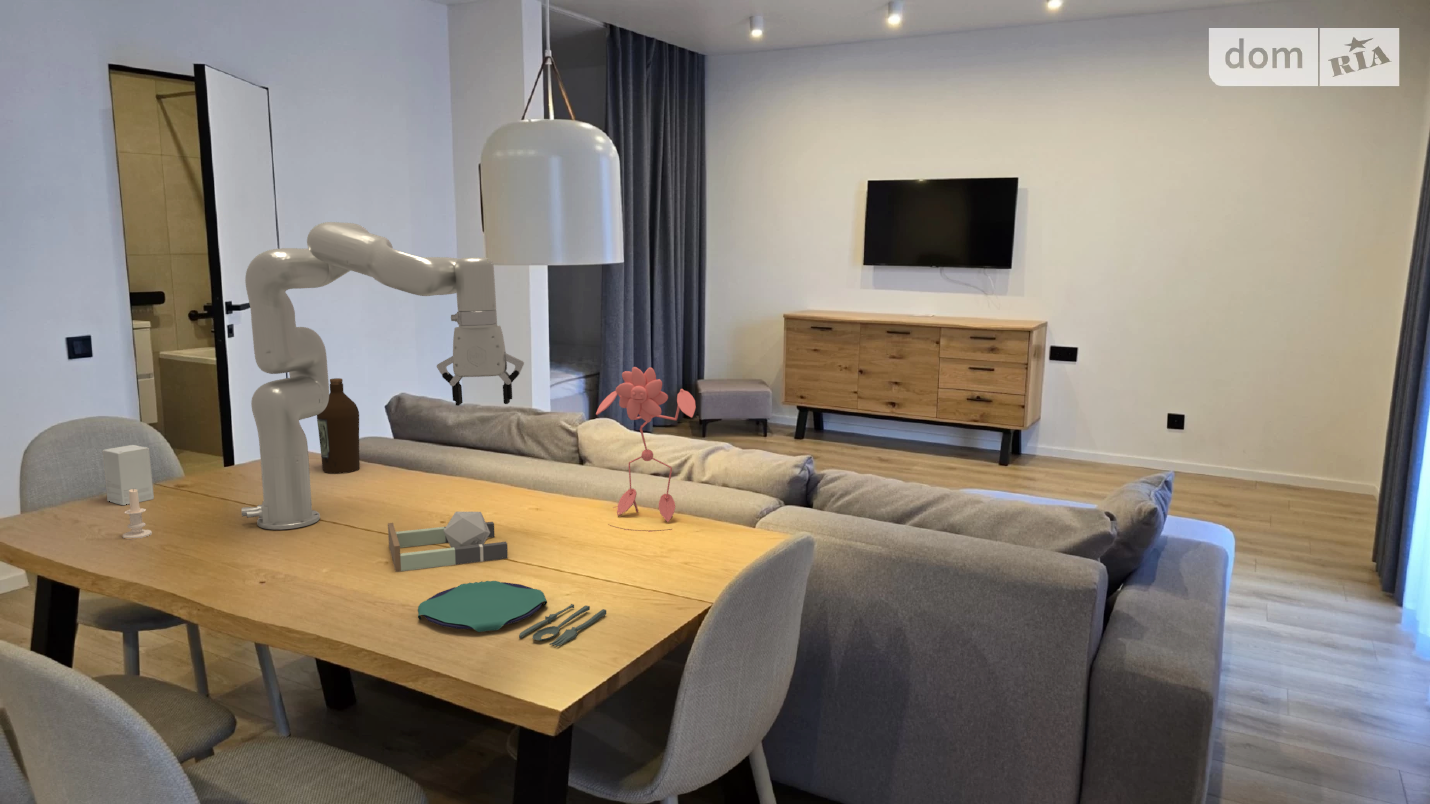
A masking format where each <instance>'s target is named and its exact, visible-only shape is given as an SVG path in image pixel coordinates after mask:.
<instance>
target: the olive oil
mask: <svg viewBox="0 0 1430 804" xmlns="http://www.w3.org/2000/svg"><path fill="white" fill-rule="evenodd" d="M316 421H317V428H318V430H317V431H318V437H319V438H318V439H319V445H320V447H319V448H320V455H321V467H322V468H321V469H322V472H324V473H326V474H347V473H352V472H355V471H356V472H357V471H358V470H359V469H360V467H361V466H360V465H361V464H360V462H361V460H360V412H359V408H358V406H357V404H356V403H355V402H354V401H353V400H352V399H351V398H350V397H349V396H348V395H347V394H346V393H345V392H344V383H343V378H340V377H339V378H337V377H335V378H330V379H329V401H328V404H327V407H326V408H325V410H324V411H323V412H321V413H320V414H318V415H316Z"/></svg>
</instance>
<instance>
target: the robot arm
mask: <svg viewBox="0 0 1430 804" xmlns="http://www.w3.org/2000/svg"><path fill="white" fill-rule="evenodd" d="M306 245H307V248H297V247H296V248H295V247H287V248H286V247H285V248H284V247H282V248H273V249H269V250H265V251H263V252H261V253H259V254H258V255H256V256H255V257H253V259H252V260H251V261H250V263H249V264H248V266H247V269H246V270H245V278H244V279H245V280H244V281H245V282H244V283H245V289H246V295H247V298H248V302H249V306H250V308H249V309H250V316H251V317H250V318H251V319H250V320H251V321H250V322H251V329H252V330H251V331H252V341H253V343H252V344H253V351H254V358H255V359H254V360H255V363H256V365H257V367H258V368H259V369H260V371H262V372H264V373H266V374H270V375H279V374H287V373H289V377H287V378H282V379H276V380H272V381H271V380H270V381H268V382H266V383H263V384H262V385H260V386H259V387H258V388H257V389H256V390H255V391H254V393H253V394H252V397H251V401H250V403H251V405H250V406H251V412H252V415H253V419H254V422H255V426H256V430H257V435H258V442H259V454H260V467H261V469H260V470H261V482H262V496H263V497H262V498H263V501H262V503H261V504H258V505H257V506H253V507H251V506H247V507H246V506H245V507H241V511H240V512H241V517H246V518H249V519H251V518H256V517H258V518H257V520H256V522H257V523H256V524H257V526H258V527H259V528H261V529H265V530H275V531H276V530H279V531H280V530H290V529H293V530H294V529H298V528H303V527H307V526H310V525H313V524H315V523H317V522H319V520H320V519H321V515H320V512H319V511H317V510H313V507H312V491H311V488H312V487H311V476H310V475H311V474H310V473H311V472H310V459H309V457H310V456H309V446H308V440H307V436H306V433H305V431H304V429H303V427H302V425H301V423H300V421H302V420H305V419H309V418H312V417H314V416H316V417H317V415H318V414H320V413H321V412H323V411H324V410H325V408H326V407H327V404H328V401H329V394H330V380H329V373H328V371H329V370H328V360H327V358H328V357H327V350H326V346H325V343H324V342H323V339H322V338H321V336H320V335H319V334H318V333H317V331H315V330H314V329H312V328H309V327H305V326H297V324H296V323H297V322H296V311H295V308H294V305H293V302H292V300H291V298H290V296H289V295H288V294H287V291H288V290H292V289H293V290H294V289H295V290H296V289H315V288H316V289H317V288H321V287H325V286H327V285H329V284H332V283H334V281H336V280H338V279H339V278H341V277H342V276H344V275H346V274H347V273H349V272H350V271H351V272H353V273H354V272H355V273H358V274H361V275H365V276H367V277H370V278H373V279H374V280H375V281H377V282H378V283H380V284H381V285H384V286H387V287H389V288H392V289H395V290H398V291H402V292H404V293H408V294H411V295H416V296H420V297H430V296H444V295H445V296H447V295H453V294H456V304H457V311H456V313H454V314H450V321H451V322H455V323H457V325H458V327H457V326H456V327H454V329H453V339H452V340H453V341H452V356H450V357H448V358H446V359H444V360H443V361H441V362H439V363H437V364H436V368H437V370H438V371H439V373H440V375H441V377H442V379H443V380H445V381H446V382H447V383H448V384H449V385H450V386H451V391H452V393H451V394H452V401H453V402H455V407H456V406H457V407H458V406H460V405H462V404H463V389H462V385H461V383H460V381H461V380H462V379H463V378H476V377H477V378H479V377H480V378H481V377H482V378H483V377H499V378H500V379H501V380H502V381H503V385H502V396H503V404H505V405H508V404H509V403H510V401H511V400H513V385H512V384H513V382H514V381H515V380H516V379H517V378H518V377H519V375H521V372H522V369H523V367H524V365H525V362H524V360H521V359H519V358H517V357H515V356H512V355H511V354H508V353H507V351H506V345H505V339H504V335H503V331H502V326H501V325H498V315H497V300H496V285H495V284H496V283H495V282H496V281H495V280H496V279H495V267H494V262H493V260H491V259H490V258H489V257H479V256H478V257H462V258H457V257H450V256H449V257H448V256H446V257H445V256H444V257H443V256H442V257H441V256H431V257H429V256H428V257H423V256H418V255H415V254H410V253H408V252H404V251H400V250H397V249H395V248H393V245H392V243H391V241H390V240H389V239H388V238H387V237H385V236H381V235H377V234H374V233H370V232H369V231H368V229H366V228H365V227H364V226H362V225H361V224H357V223H353V222H339V221H338V222H337V221H336V222H335V221H325V222H321V223H318V224H317V225H315V226H313V228H312V229H310V231H309V232H308V235H307V239H306ZM487 259H490V260H491V261H490V260H488V262H489V263H487ZM491 263H493V264H491ZM508 363H509V364H512V365H514V370H513V371H512V372H511V373H508V372H507V369H508ZM450 365H452V370H453V374H454V376H453V375H452V374H451V373H450V372H449V371H448V369H447V367H449V366H450Z"/></svg>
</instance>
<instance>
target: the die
mask: <svg viewBox="0 0 1430 804" xmlns="http://www.w3.org/2000/svg"><path fill="white" fill-rule="evenodd" d="M486 522H487V521H486V520H485V518H484V516H483V513H482V511H454V514H453V515H452V517H451V518H450V519H449V522H447V525H446V526H445V527H446V528H445V529H444V531H443V532H444V534H445V536H446V538H447V540H448V544H449V548H453V547H462V546H471V545H480V544H486V541H487V539H489V538H488V536H489V534H490V531H489V529H488V527H487V524H486Z"/></svg>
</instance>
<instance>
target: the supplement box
mask: <svg viewBox="0 0 1430 804" xmlns="http://www.w3.org/2000/svg"><path fill="white" fill-rule="evenodd" d="M101 452H102V462H103V471H104V472H103V473H104V479H105V487H106V500H107V502H109V501H110V502H109V503H114V504H116V505H121V506H127V505H130V500H129V490H131V489H137V491H138V498H139V503H142V502H146V501H151V500H154V499H155V498H154V497H155V496H154V484H153V475H152V467H151V466H152V465H151V455H150V448H149V447H146V446H145V447H144V446H141V445H136V444H129V445H123V446H118V447H112V448H111V447H110V448H107V449H102V451H101ZM126 504H127V505H126Z"/></svg>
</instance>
